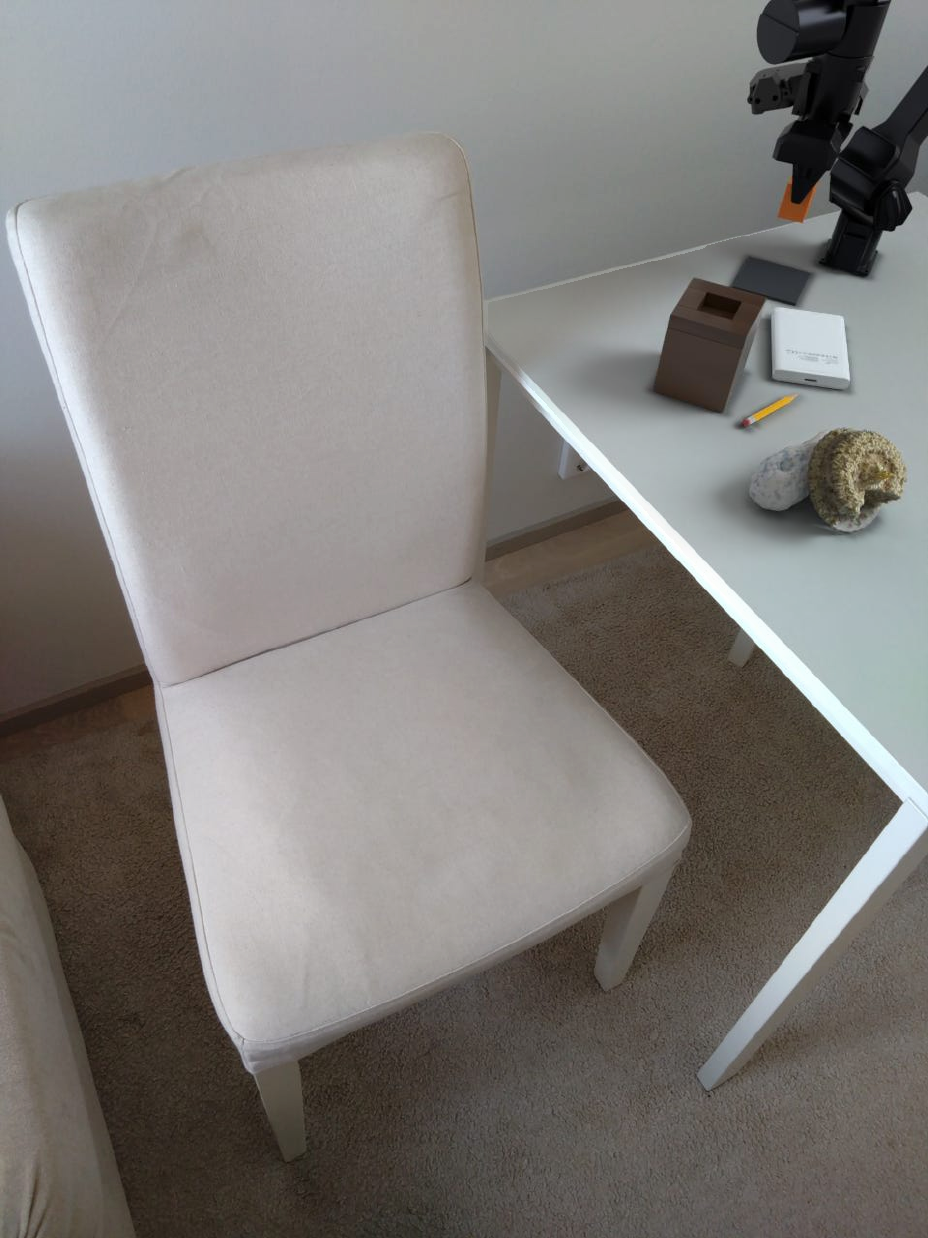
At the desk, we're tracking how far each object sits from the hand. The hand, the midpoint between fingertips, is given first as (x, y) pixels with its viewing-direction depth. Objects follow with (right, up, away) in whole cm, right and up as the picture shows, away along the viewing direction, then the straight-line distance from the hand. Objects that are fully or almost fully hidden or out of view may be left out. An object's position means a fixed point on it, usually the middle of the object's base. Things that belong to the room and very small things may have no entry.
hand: (798, 196), depth 106 cm
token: (0, -1, +2) cm, 2 cm away
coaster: (0, -7, +9) cm, 11 cm away
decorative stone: (-1, -38, -16) cm, 41 cm away
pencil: (-6, -27, -8) cm, 29 cm away
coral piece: (-3, -36, -19) cm, 41 cm away
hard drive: (+1, -19, -1) cm, 19 cm away
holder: (-13, -23, -5) cm, 27 cm away
